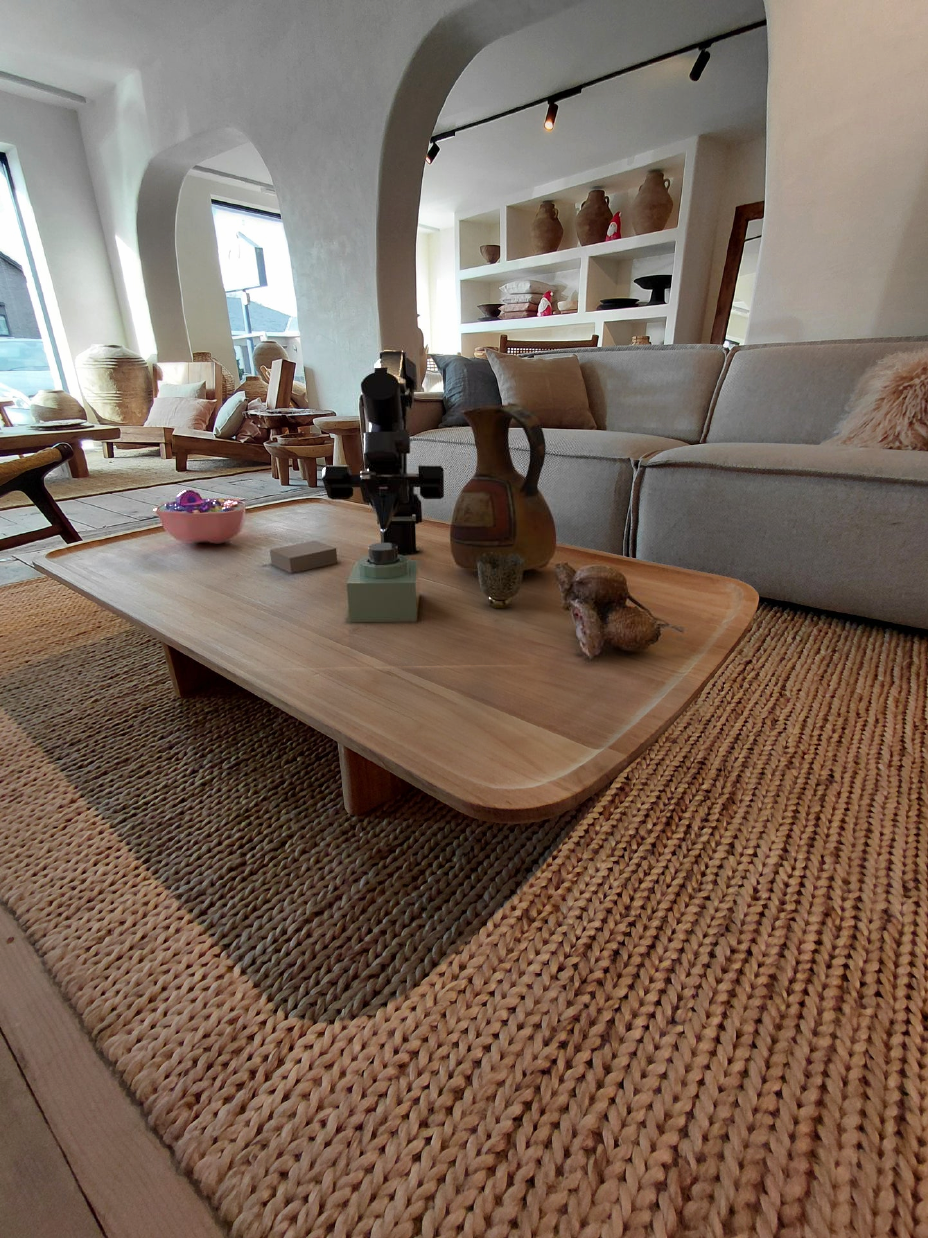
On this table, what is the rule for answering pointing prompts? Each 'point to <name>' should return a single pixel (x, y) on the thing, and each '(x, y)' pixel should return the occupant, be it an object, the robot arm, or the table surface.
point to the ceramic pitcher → (503, 494)
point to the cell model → (202, 518)
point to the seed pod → (606, 609)
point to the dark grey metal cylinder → (383, 553)
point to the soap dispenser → (383, 591)
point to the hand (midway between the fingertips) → (383, 528)
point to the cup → (500, 577)
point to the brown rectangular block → (303, 556)
